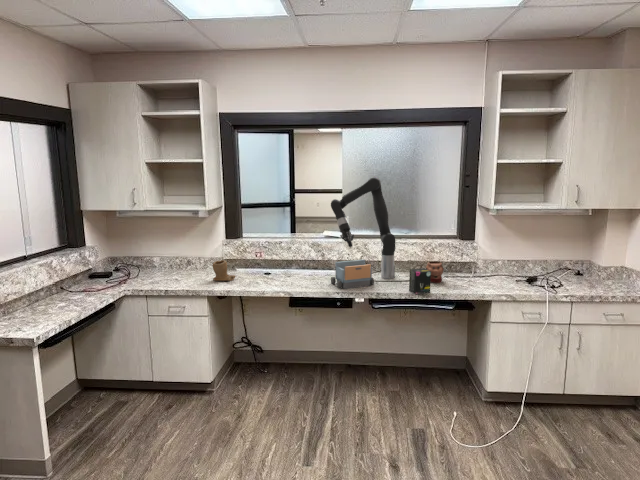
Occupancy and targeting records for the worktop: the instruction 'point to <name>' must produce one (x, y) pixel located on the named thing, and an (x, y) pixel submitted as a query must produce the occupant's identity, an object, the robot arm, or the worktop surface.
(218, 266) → the brown boot
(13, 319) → the worktop surface
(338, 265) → the pickup bed
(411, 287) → the tampon box
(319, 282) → the worktop surface
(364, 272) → the panel
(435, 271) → the decorative planter
